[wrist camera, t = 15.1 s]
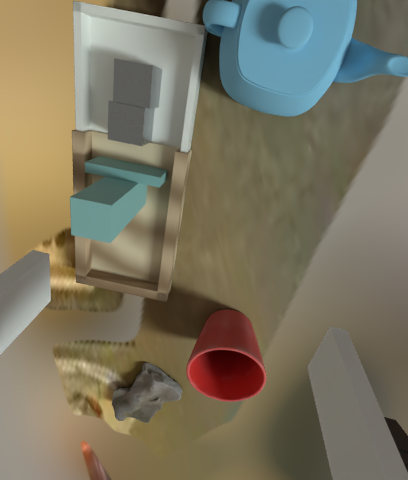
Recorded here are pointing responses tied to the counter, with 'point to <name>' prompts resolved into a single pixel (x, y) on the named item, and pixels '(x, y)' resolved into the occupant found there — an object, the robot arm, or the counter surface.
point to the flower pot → (227, 358)
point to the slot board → (133, 220)
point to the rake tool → (112, 197)
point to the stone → (145, 394)
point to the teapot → (291, 51)
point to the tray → (140, 51)
